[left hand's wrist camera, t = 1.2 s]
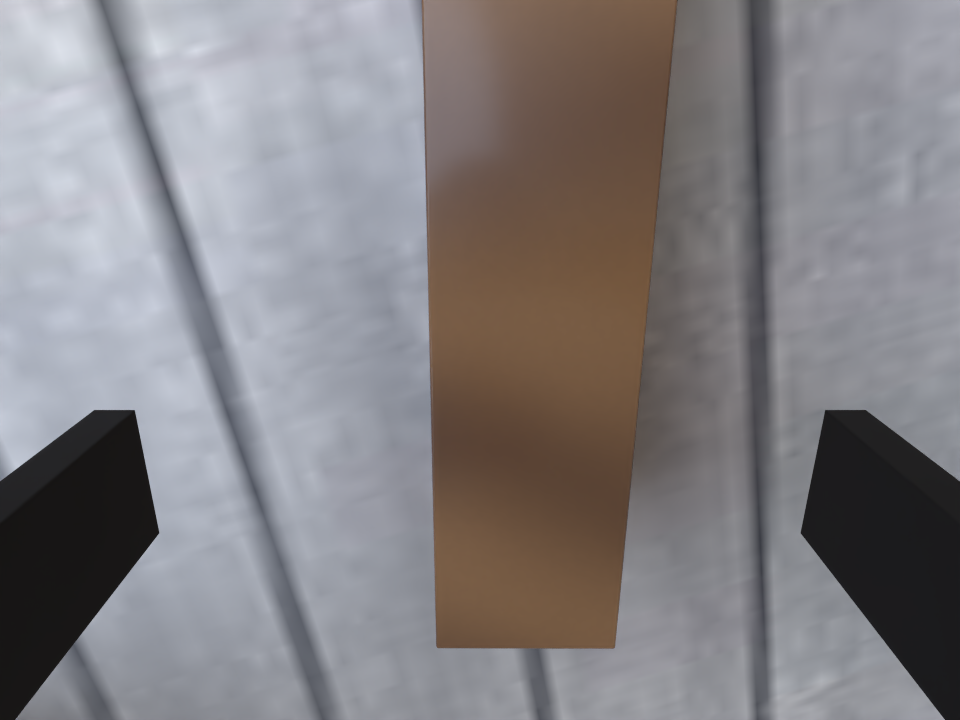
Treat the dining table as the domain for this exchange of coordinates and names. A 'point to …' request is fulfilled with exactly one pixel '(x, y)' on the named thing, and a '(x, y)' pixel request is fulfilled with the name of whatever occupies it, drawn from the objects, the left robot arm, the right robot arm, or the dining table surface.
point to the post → (538, 304)
